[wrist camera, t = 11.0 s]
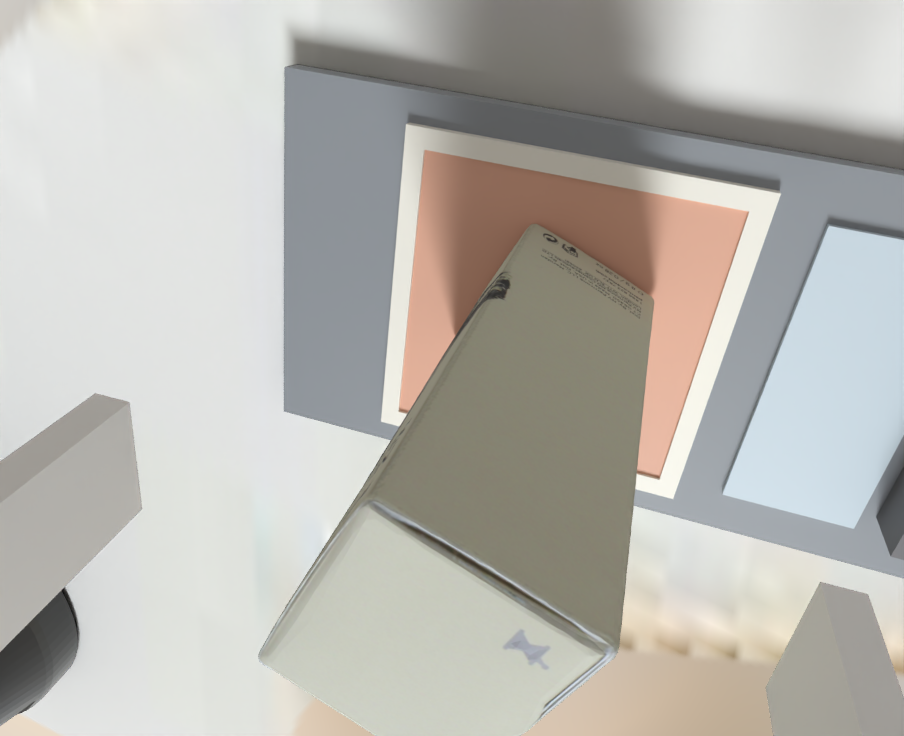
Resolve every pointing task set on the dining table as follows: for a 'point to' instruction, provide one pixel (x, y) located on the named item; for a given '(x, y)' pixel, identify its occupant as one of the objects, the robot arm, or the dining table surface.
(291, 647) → the box
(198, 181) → the dining table surface
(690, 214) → the picture board
